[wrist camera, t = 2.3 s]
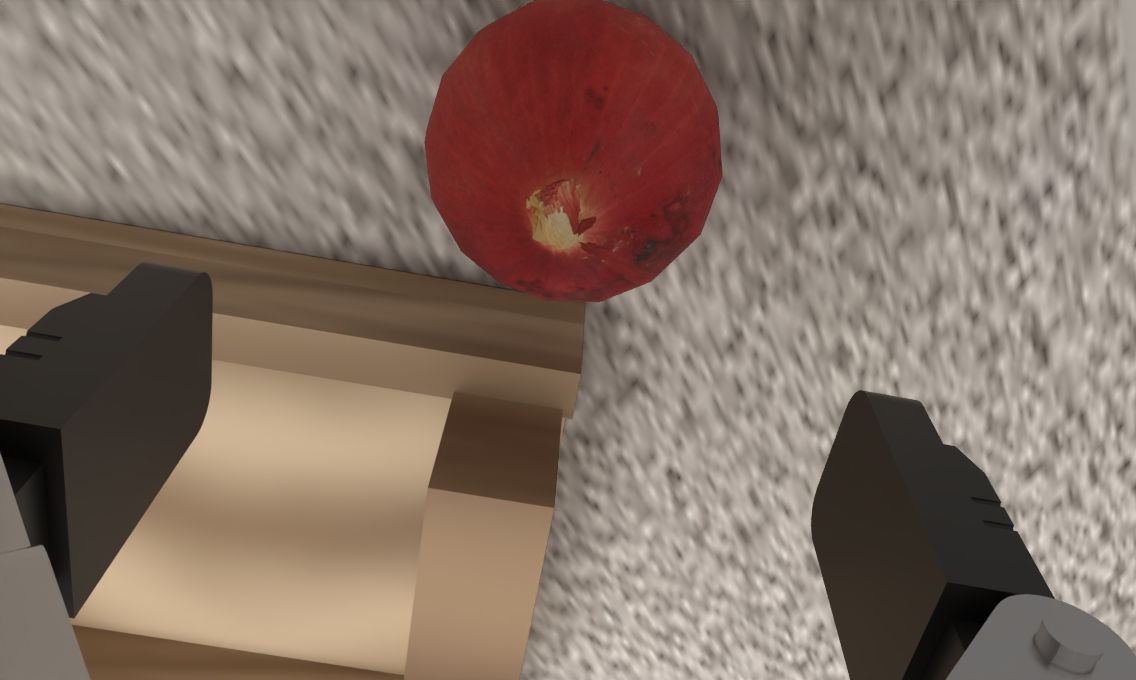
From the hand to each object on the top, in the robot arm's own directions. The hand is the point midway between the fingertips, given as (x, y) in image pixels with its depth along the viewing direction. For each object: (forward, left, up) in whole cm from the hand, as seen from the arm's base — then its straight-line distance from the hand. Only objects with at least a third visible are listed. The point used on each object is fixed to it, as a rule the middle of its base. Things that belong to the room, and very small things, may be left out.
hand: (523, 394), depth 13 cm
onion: (0, 0, -13) cm, 13 cm away
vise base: (+12, -10, -12) cm, 20 cm away
